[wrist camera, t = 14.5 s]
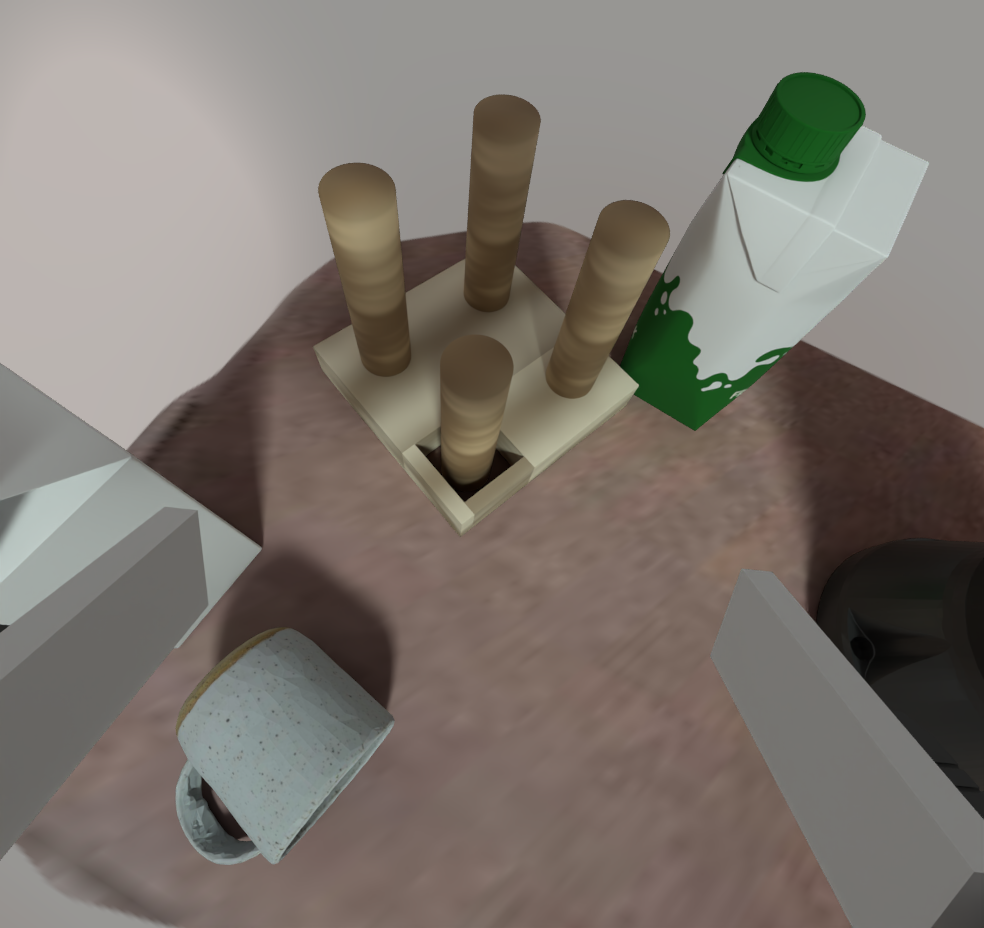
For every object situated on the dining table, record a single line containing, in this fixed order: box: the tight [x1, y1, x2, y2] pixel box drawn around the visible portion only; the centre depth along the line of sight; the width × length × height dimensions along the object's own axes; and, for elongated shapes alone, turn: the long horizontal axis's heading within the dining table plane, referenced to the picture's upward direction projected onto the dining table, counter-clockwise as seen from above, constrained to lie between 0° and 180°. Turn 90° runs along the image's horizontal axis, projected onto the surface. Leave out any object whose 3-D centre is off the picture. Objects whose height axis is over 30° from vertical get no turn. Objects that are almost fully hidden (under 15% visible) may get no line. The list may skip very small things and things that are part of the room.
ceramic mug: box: [176, 627, 394, 865], centre depth 25 cm, size 11×8×8 cm
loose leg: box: [440, 334, 514, 492], centre depth 30 cm, size 3×3×13 cm
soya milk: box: [620, 72, 929, 431], centre depth 31 cm, size 9×9×20 cm
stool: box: [313, 95, 670, 537], centre depth 31 cm, size 16×16×16 cm
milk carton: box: [0, 363, 262, 648], centre depth 23 cm, size 7×7×19 cm
